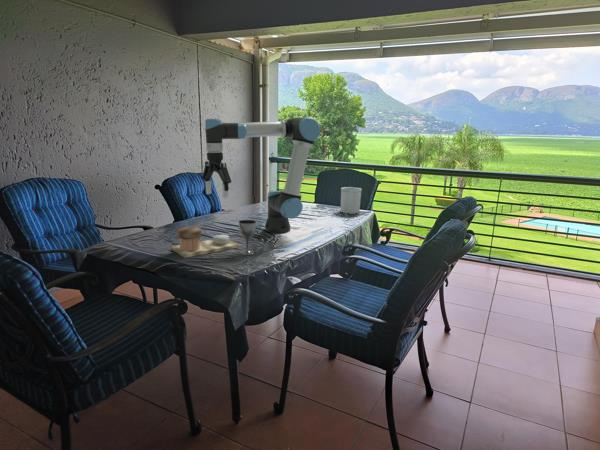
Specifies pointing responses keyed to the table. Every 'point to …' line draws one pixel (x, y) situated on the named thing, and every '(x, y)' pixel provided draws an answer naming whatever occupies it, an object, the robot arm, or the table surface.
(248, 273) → the table surface
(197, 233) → the lid
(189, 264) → the table surface
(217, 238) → the light grey domed disc
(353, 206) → the utensil holder
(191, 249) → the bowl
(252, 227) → the wine glass
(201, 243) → the serving board
